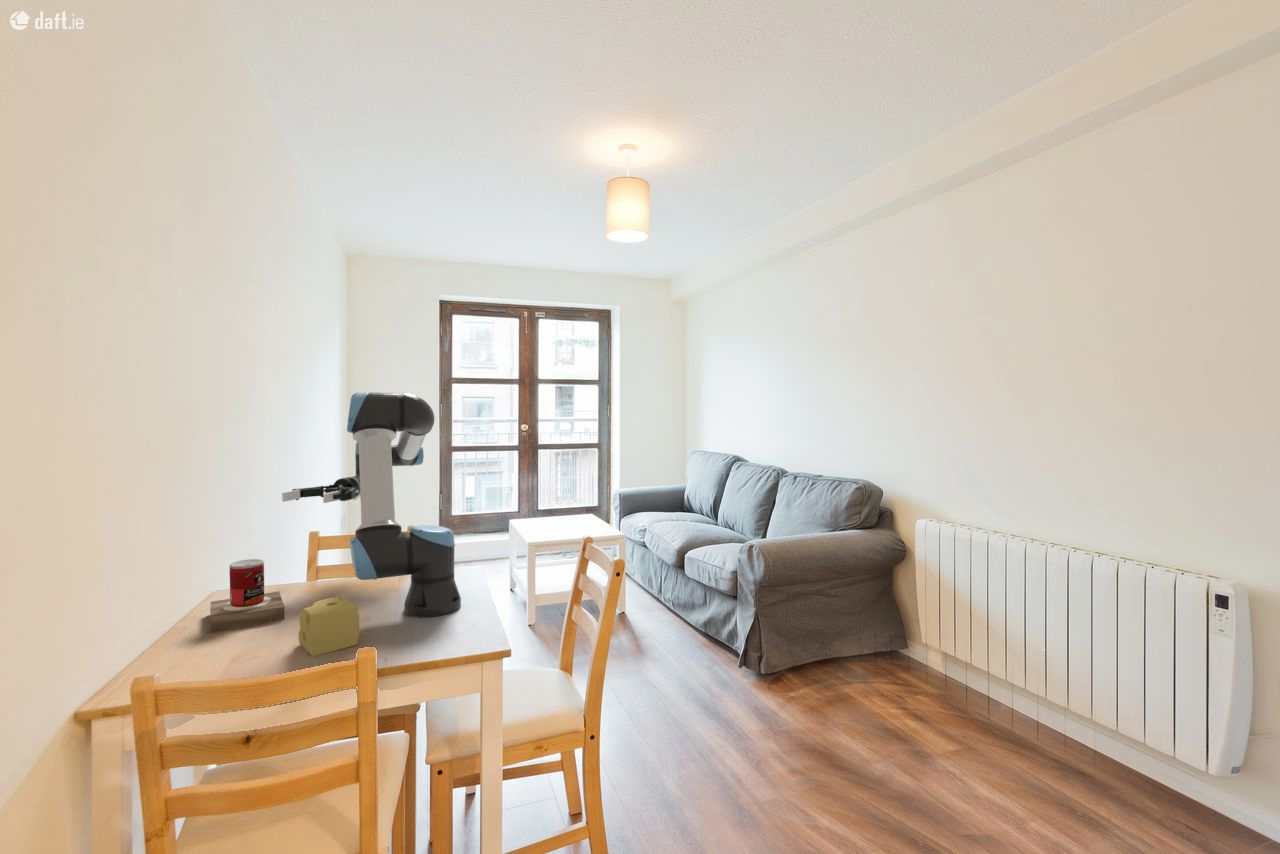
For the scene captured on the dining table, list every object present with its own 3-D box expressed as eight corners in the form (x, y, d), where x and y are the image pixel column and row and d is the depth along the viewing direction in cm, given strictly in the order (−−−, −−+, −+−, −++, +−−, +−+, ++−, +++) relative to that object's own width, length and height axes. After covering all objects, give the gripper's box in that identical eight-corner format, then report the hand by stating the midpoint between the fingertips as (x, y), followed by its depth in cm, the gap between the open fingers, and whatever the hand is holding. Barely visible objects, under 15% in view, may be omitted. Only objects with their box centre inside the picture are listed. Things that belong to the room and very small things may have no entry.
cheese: (298, 645, 139) (297, 604, 139) (346, 633, 147) (345, 594, 146) (310, 658, 132) (310, 615, 131) (360, 645, 139) (360, 604, 139)
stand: (284, 619, 156) (284, 605, 156) (210, 632, 146) (210, 617, 146) (279, 603, 169) (278, 590, 169) (210, 614, 159) (210, 600, 159)
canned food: (247, 608, 153) (247, 567, 153) (222, 606, 155) (221, 565, 154) (271, 599, 161) (271, 559, 160) (247, 597, 162) (246, 558, 162)
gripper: (384, 500, 193) (341, 511, 172) (316, 498, 196) (266, 508, 175) (383, 478, 192) (341, 486, 171) (315, 476, 196) (266, 484, 175)
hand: (303, 497), depth 173 cm, fingers open, 13 cm apart
